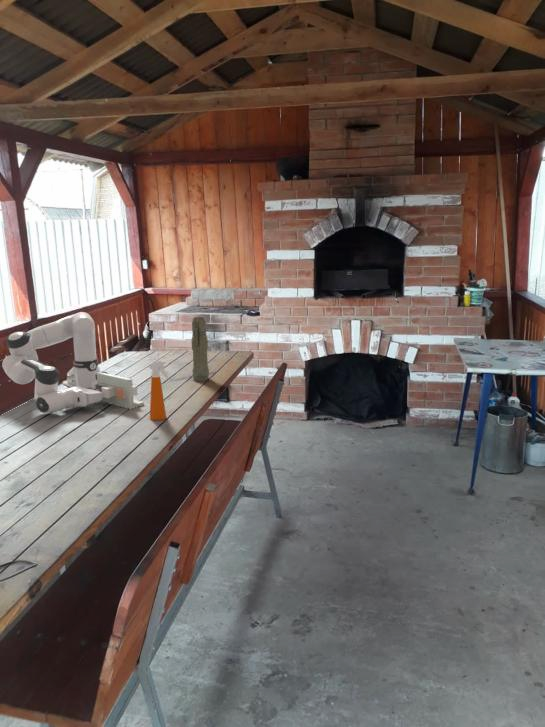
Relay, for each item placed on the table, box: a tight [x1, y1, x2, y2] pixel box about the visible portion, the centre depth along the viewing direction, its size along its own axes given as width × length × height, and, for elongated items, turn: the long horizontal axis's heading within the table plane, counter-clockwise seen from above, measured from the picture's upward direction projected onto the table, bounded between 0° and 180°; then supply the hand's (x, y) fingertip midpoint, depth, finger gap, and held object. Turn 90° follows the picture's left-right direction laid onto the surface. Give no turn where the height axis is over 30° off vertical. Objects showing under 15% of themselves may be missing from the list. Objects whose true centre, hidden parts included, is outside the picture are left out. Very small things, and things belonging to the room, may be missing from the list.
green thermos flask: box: [191, 316, 210, 382], centre depth 305 cm, size 9×12×35 cm
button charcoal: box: [95, 383, 107, 392], centre depth 267 cm, size 5×9×5 cm, turn 143°
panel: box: [97, 371, 145, 410], centre depth 265 cm, size 24×8×14 cm, turn 53°
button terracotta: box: [116, 385, 138, 400], centre depth 259 cm, size 5×9×5 cm, turn 143°
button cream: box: [101, 385, 116, 398], centre depth 261 cm, size 5×9×5 cm, turn 143°
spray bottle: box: [148, 360, 170, 421], centre depth 239 cm, size 7×11×26 cm, turn 58°
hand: (98, 390), depth 263 cm, fingers closed
